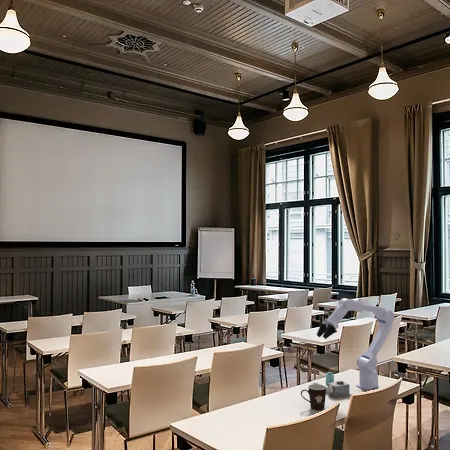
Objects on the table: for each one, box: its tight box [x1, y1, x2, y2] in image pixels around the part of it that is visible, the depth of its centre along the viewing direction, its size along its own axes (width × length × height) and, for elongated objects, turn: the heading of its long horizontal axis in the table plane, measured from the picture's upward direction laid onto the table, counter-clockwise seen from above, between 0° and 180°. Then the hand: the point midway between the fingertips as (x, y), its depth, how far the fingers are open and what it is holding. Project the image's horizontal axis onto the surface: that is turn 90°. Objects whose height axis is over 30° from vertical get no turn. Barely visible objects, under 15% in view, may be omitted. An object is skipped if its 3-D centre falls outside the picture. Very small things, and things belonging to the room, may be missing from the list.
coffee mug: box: [300, 383, 327, 411], centre depth 230 cm, size 12×9×10 cm
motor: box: [320, 380, 353, 399], centre depth 252 cm, size 11×15×6 cm
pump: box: [325, 371, 335, 386], centre depth 265 cm, size 4×4×7 cm
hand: (320, 336), depth 252 cm, fingers open, 7 cm apart
